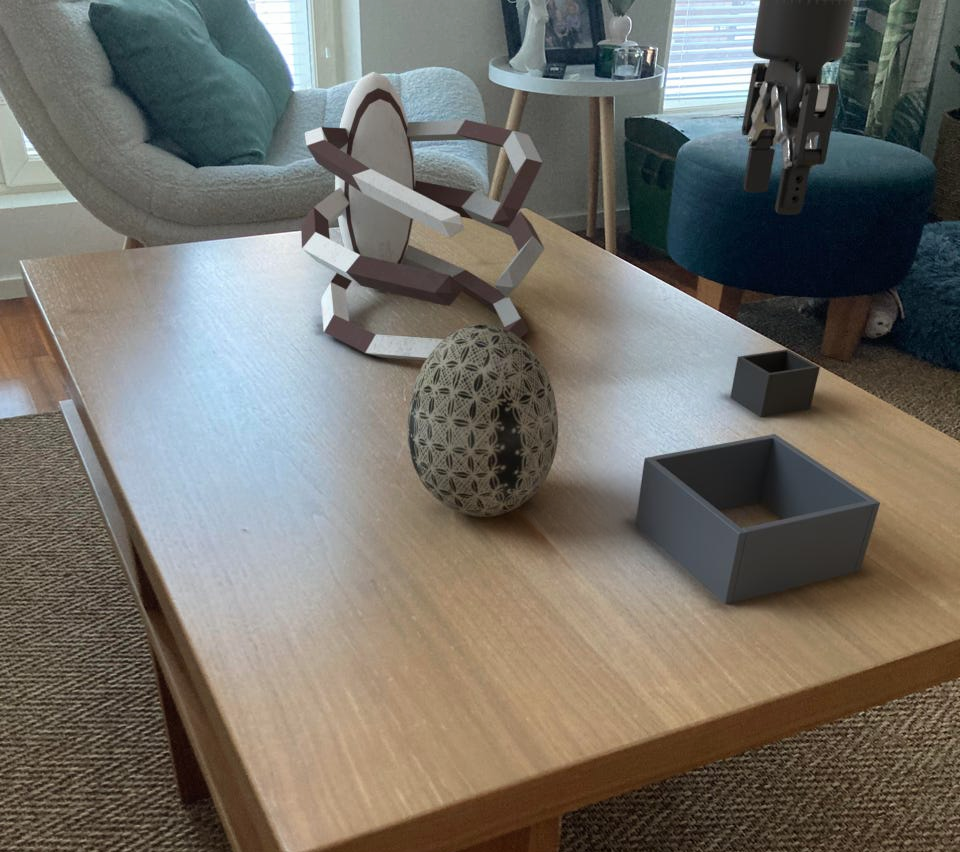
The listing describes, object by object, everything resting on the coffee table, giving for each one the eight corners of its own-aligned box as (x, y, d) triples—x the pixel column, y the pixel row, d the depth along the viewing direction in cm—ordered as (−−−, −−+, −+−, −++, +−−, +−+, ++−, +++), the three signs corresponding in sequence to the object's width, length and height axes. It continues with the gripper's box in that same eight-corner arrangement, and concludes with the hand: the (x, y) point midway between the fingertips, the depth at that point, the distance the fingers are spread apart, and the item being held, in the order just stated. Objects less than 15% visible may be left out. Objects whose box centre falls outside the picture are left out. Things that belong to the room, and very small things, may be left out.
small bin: (777, 396, 105) (787, 349, 102) (808, 415, 101) (820, 366, 98) (728, 404, 103) (737, 356, 100) (758, 424, 99) (769, 375, 96)
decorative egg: (438, 556, 78) (439, 366, 69) (389, 487, 87) (384, 310, 78) (576, 530, 82) (594, 346, 73) (516, 467, 90) (525, 295, 81)
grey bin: (759, 505, 86) (774, 433, 82) (858, 579, 77) (880, 502, 73) (634, 532, 82) (644, 457, 78) (723, 613, 73) (739, 533, 69)
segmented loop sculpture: (461, 264, 136) (589, 377, 112) (263, 287, 127) (356, 416, 103) (468, 57, 121) (619, 138, 97) (242, 67, 111) (348, 159, 88)
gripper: (890, 0, 79) (841, 222, 88) (818, -14, 90) (782, 184, 100) (796, -2, 78) (757, 222, 87) (736, -15, 89) (707, 184, 99)
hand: (770, 202), depth 94 cm, fingers open, 8 cm apart
